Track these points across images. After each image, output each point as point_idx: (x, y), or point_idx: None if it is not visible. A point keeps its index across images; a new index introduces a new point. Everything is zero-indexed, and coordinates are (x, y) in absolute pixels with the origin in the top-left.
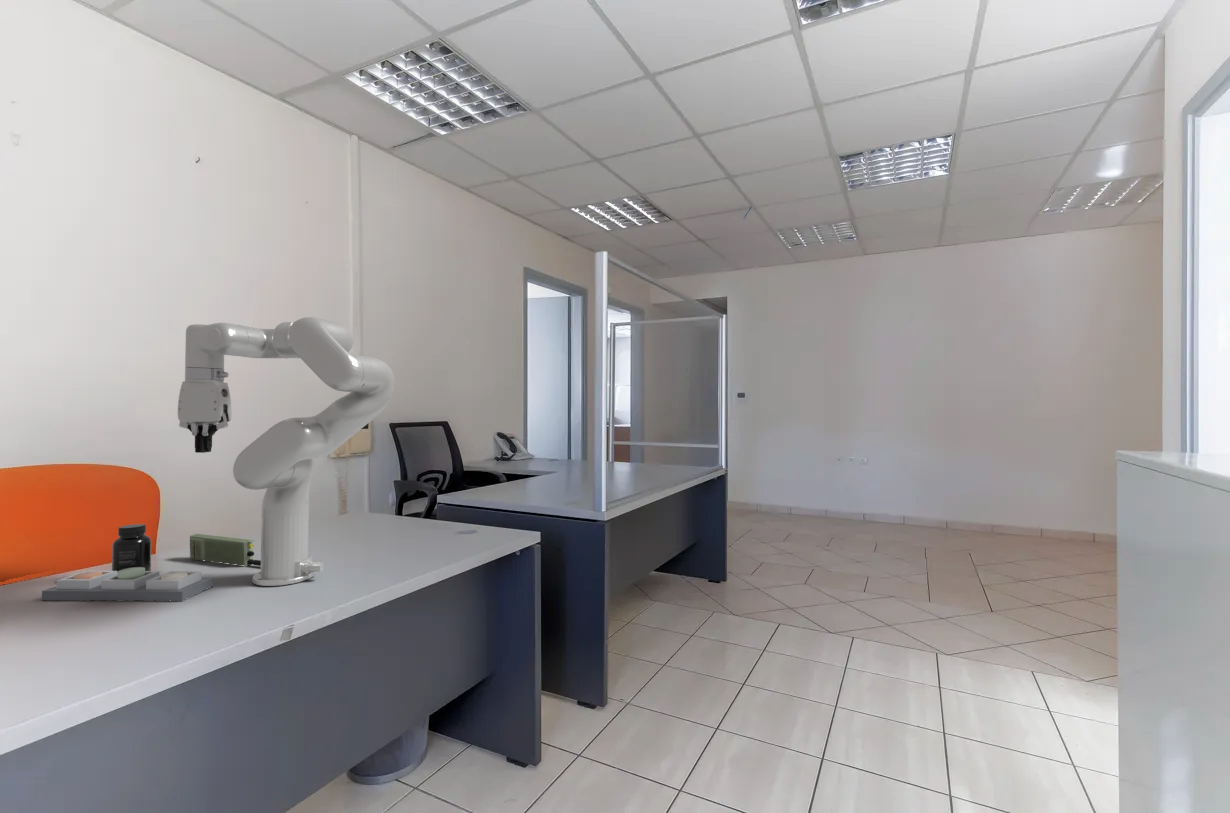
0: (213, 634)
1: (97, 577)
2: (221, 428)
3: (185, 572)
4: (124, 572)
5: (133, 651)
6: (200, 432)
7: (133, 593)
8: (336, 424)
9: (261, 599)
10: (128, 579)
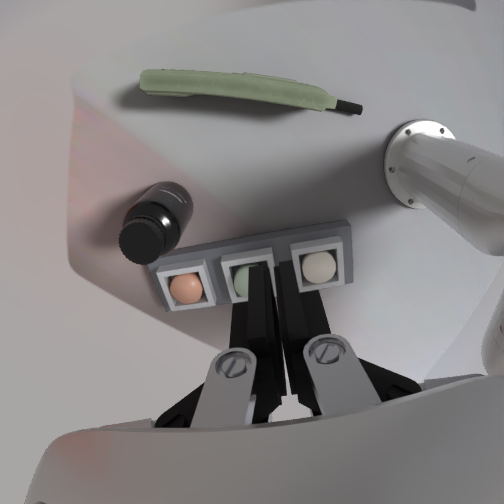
0: (434, 328)
1: (210, 294)
2: (437, 384)
3: (325, 255)
4: None
5: (393, 362)
6: (269, 403)
7: None
8: None
9: (437, 249)
10: None
